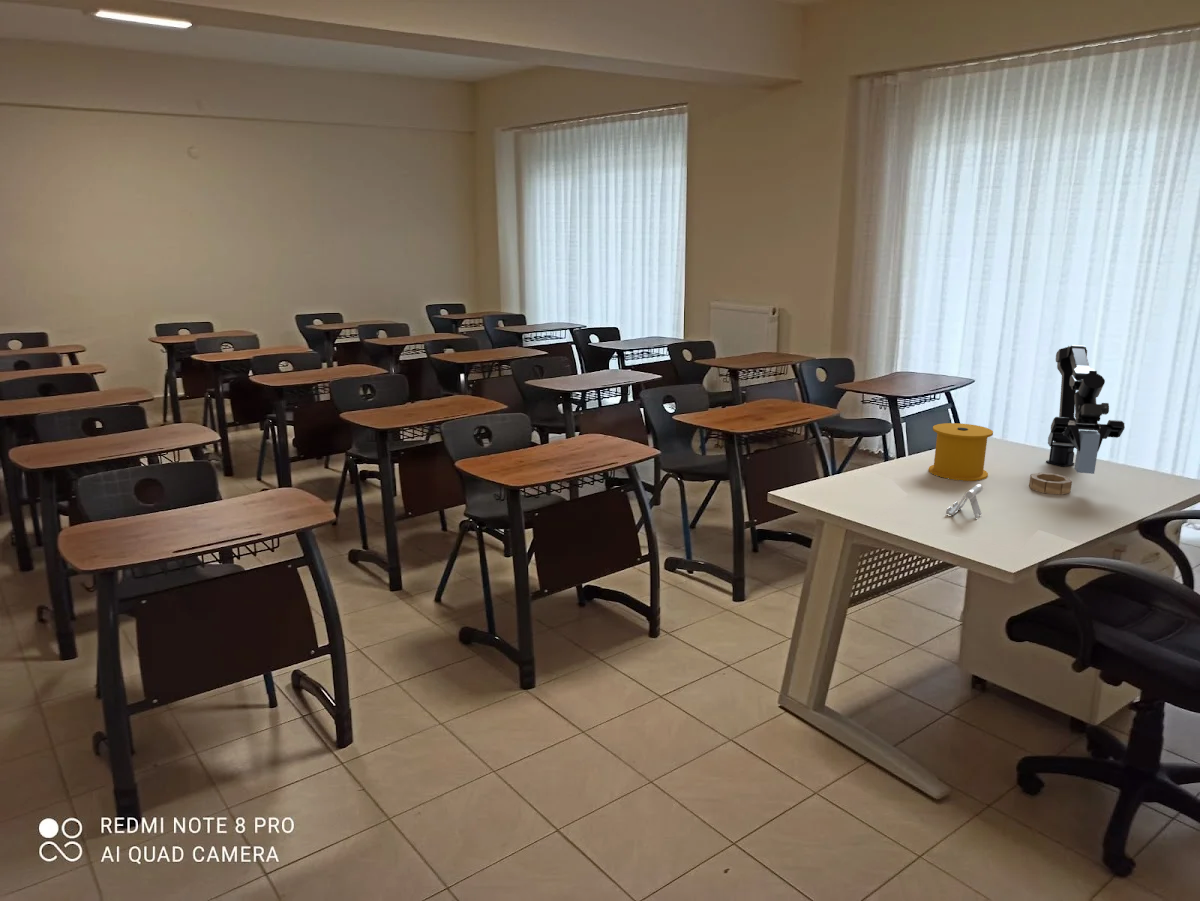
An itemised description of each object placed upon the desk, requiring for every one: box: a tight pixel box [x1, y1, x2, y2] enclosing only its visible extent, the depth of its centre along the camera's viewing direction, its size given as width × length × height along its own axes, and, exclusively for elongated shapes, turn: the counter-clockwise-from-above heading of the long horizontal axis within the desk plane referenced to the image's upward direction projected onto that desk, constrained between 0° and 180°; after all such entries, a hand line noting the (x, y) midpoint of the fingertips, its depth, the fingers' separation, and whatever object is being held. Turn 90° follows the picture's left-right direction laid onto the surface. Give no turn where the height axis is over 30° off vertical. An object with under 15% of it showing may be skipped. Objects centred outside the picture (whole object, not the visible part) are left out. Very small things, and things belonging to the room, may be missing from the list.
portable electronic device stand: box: [945, 483, 984, 519], centre depth 235 cm, size 9×8×8 cm
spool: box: [928, 422, 994, 482], centre depth 274 cm, size 18×18×15 cm
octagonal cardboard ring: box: [1028, 472, 1073, 496], centre depth 259 cm, size 11×11×4 cm
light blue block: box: [1073, 430, 1100, 475], centre depth 252 cm, size 4×4×12 cm
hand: (1088, 451), depth 251 cm, fingers closed on light blue block, 4 cm apart
